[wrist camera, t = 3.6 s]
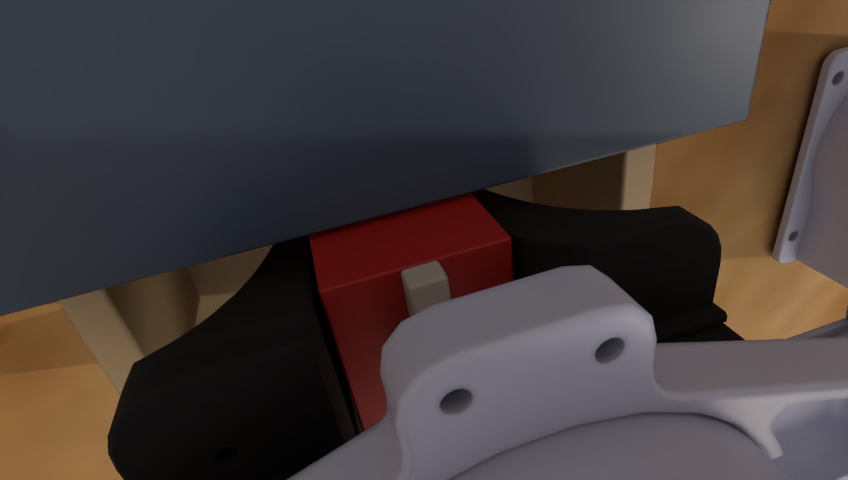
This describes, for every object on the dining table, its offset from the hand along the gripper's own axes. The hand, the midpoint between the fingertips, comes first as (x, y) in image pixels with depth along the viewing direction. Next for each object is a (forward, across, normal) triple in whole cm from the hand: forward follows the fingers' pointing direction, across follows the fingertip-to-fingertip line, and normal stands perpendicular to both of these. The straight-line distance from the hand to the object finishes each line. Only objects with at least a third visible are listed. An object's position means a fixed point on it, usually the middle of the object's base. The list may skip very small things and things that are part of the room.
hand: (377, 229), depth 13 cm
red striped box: (+2, 0, 0) cm, 2 cm away
